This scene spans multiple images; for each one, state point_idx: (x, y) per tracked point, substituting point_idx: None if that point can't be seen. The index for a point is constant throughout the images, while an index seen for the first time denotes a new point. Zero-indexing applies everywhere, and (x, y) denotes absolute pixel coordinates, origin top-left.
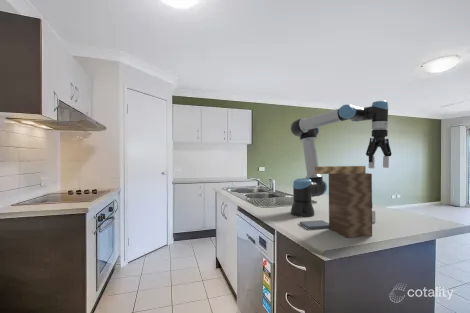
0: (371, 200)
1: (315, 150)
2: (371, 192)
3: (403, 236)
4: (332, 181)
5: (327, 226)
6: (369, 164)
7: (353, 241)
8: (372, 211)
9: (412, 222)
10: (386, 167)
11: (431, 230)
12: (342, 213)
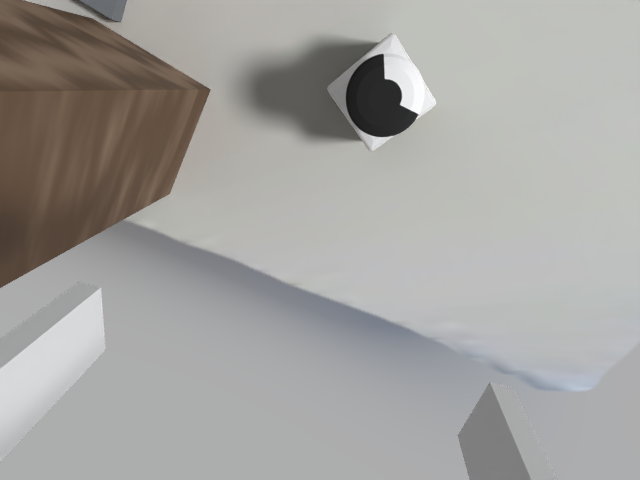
0: (63, 249)
1: None
2: (23, 271)
3: (253, 268)
4: None
5: (87, 4)
6: (25, 334)
7: None
8: (361, 139)
9: (501, 257)
10: (469, 424)
11: (407, 320)
12: None
